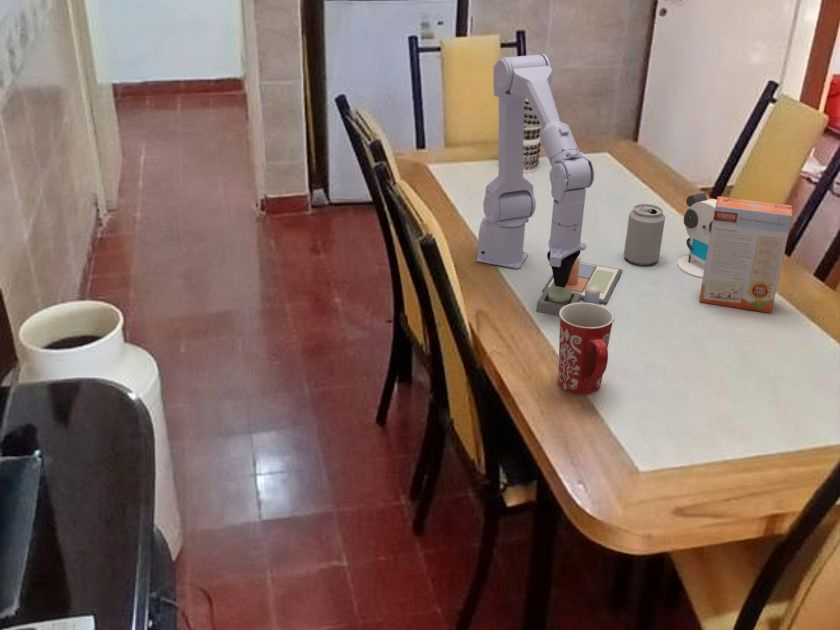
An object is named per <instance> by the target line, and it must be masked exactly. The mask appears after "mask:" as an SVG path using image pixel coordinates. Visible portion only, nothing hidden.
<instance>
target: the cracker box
mask: <svg viewBox="0 0 840 630" xmlns="http://www.w3.org/2000/svg"><path fill="white" fill-rule="evenodd" d="M716 197H717V198H716V200H717V202H716V207H715V212H714V217H713V223H712V228H711V234H710V239H709V245H708V251H707V256H706V262H705V268H704V274H703V278H702V281H701V286H700V292H699V300H698V301H699V302H700V303H705V304H711V305H712V304H713V305H719V306H726V307H729V308H730V307H732V308H737V309H744V310H750V311H756V312H763V313H769V314H771V313H772V312H773V307H774V303H775V298H776V294H777V288H778V284H779V281H780V280H779V279H780V275H781V271H782V266H783V261H784V258H785V251H786V247H787V242H788V238H789V234H790V233H789V232H790V227H791V224H792V220H793V205H791V204H783V203H775V202H768V201H759V200H751V199H745V198H744V199H743V198H734V197H729V196H728V197H727V196H716Z"/></svg>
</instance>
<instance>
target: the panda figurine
mask: <svg viewBox="0 0 840 630" xmlns="http://www.w3.org/2000/svg"><path fill="white" fill-rule="evenodd" d="M707 198H708V197H707V195H706V193H705V192H700V193H695V194H692V195H689V196H687V198H686V203H685V204H686V206H687V207H689V208H688V209H686V212H685V214H684V216H683V217H684V218H683V225H684V226H685V230H686V232H687V235H688V238H686V246H687V248H688V250H689V252H688V255H683V256H681V257H680V258H679V259H677V261H676V262H677V264H676V265H677V268H678V269H679V270H680V271H681V272H683V273H685V274H686V275H689V276H692V277H694V278H698V279H703V274H704V268H705V262H706V256H707V251H708V245H709V239H710V234H711V228H712V223H713V217H714V212H715V207H716V202H717V199H715V198H710V199H707Z"/></svg>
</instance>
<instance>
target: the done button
mask: <svg viewBox="0 0 840 630" xmlns="http://www.w3.org/2000/svg"><path fill="white" fill-rule="evenodd" d="M570 300H571V289H570V288H569V287H567V286H566V287H565V288H563V287H558V286H555V285H553V286H551V287H549V291H548V302H553V303H558V304H563V305H568V303H569V302H570ZM569 304H570V303H569Z"/></svg>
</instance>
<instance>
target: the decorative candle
mask: <svg viewBox="0 0 840 630" xmlns="http://www.w3.org/2000/svg"><path fill="white" fill-rule="evenodd" d="M541 128H542V126H541V124H540V122H539V121H538V119H537V117H536V115H535V113H534V111H533V109H532V107H531V105H530V103H529V101H528V99H526V100H525V101H524V139H523V174H525V173H526V174H527V173H528V174H529V173H534V172H537V171H538V170H539V165H540V158H541V155H540V152H541V149H540V147H541V146H542V144H541V139H540V136H541Z"/></svg>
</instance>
